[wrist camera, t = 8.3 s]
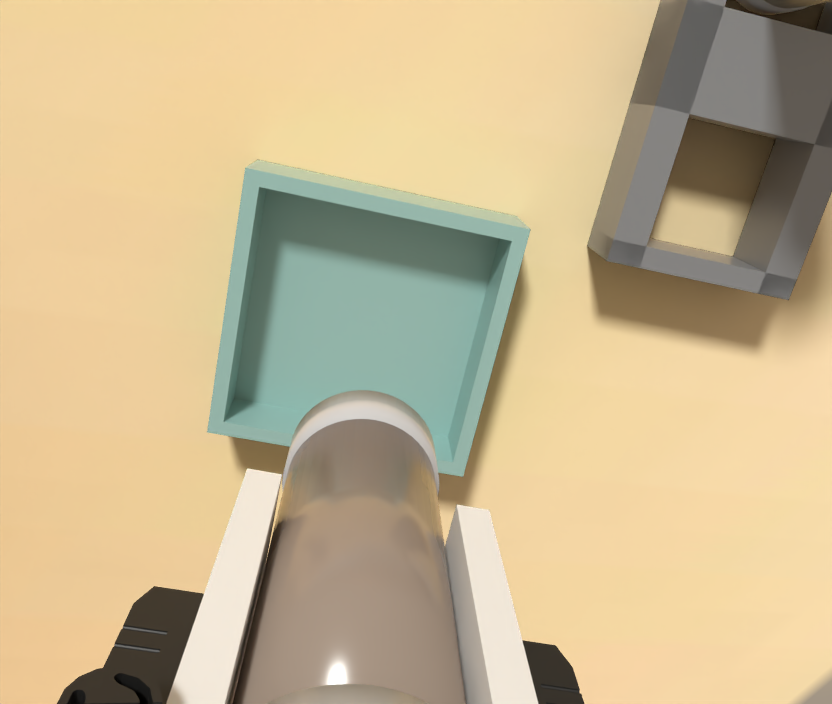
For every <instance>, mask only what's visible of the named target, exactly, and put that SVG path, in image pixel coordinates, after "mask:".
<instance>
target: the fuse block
mask: <svg viewBox="0 0 832 704" xmlns="http://www.w3.org/2000/svg"><path fill="white" fill-rule="evenodd" d="M726 1H727V0H661V1H660V4H659V8H658V11H657V14H656V18H655V21H654V24H653V28H652V31H651V34H650V38H649V41H648V44H647V48H646V51H645V54H644V58H643V61H642V65H641V68H640V71H639V75H638V78H637V81H636V85H635V88H634V91H633V95H632V98H631V101H630V105H629V108H628V111H627V115H626V118H625V121H624V125H623V128H622V131H621V135H620V138H619V141H618V145H617V148H616V151H615V155H614V158H613V161H612V165H611V168H610V171H609V175H608V178H607V181H606V185H605V188H604V191H603V195H602V198H601V201H600V205H599V208H598V211H597V215H596V218H595V221H594V225H593V228H592V231H591V235H590V238H589V241H588V245H587V246H588V247H589V248H591V249H592V250H593V251H594V252H596V253H597V254H598V255H600V256H601V257H602V258H604V259H605V260H606V261H609V262H614V263H618V264H623V265H628V266H632V267H637V268H641V269H646V270H651V271H655V272H660V273H665V274H669V275H674V276H679V277H683V278H688V279H693V280H697V281H702V282H707V283H711V284H716V285H721V286H725V287H730V288H735V289H739V290H744V291H749V292H753V293H758V294H763V295H767V296H772V297H777V298H781V299H786V300H789V298H790V296H791V293H792V290H793V288H794V285H795V283H796V280H797V278H798V275H799V273H800V270H801V268H802V265H803V263H804V260H805V258H806V255H807V253H808V250H809V248H810V245H811V243H812V240H813V238H814V235H815V233H816V230H817V228H818V225H819V223H820V220H821V218H822V215H823V213H824V210H825V207H826V205H827V202H828V200H829V197H830V195H831V192H832V2H827V3H825V6H824V9H823V12H822V14H821V17H820V20H819V22H818V25H817V28H816V31H815V30H811V29H807V28H804V27H800V26H796V25H792V24H788V23H785V22H781V21H777V20H773V19H769V18H765V17H762V16H758V15H754V14H750V13H746V12H743V11H739V10H735V9H731V8H727V7H725V4H726ZM688 118H692V119H696V120H700V121H705V122H709V123H713V124H717V125H721V126H725V127H729V128H733V129H738V130H742V131H746V132H750V133H754V134H758V135H762V136H767V137H771V138H775V139H776V140H775V143H774V146H773V148H772V151H771V154H770V157H769V159H768V162H767V165H766V168H765V170H764V173H763V176H762V178H761V181H760V184H759V187H758V189H757V192H756V195H755V198H754V200H753V203H752V206H751V209H750V211H749V214H748V217H747V220H746V222H745V225H744V228H743V230H742V233H741V236H740V239H739V241H738V244H737V247H736V250H735V252H734V255H733V257H732V256H728V255H723V254H719V253H714V252H710V251H705V250H701V249H696V248H691V247H687V246H682V245H678V244H673V243H669V242H664V241H660V240H655V239H650V238H649V237H650V234H651V231H652V228H653V225H654V222H655V219H656V216H657V213H658V210H659V207H660V203H661V200H662V197H663V194H664V191H665V188H666V185H667V182H668V179H669V176H670V173H671V170H672V167H673V164H674V161H675V157H676V154H677V151H678V148H679V145H680V142H681V139H682V136H683V133H684V130H685V127H686V124H687V121H688Z"/></svg>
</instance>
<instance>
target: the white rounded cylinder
mask: <svg viewBox="0 0 832 704" xmlns="http://www.w3.org/2000/svg"><path fill="white" fill-rule="evenodd" d="M736 1H737V2H738V3H739V4H740V5H741V6H743V7H744V8H745V9H747V10H749V11H751V12H754V13H757V14H762V15H773V14H780V13H786V12H792V11H797V10H801V9H804V8H807V7H809V6H811V5H815V4H821V3H827V2H832V0H736Z"/></svg>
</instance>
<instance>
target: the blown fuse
mask: <svg viewBox="0 0 832 704" xmlns="http://www.w3.org/2000/svg"><path fill="white" fill-rule="evenodd" d="M282 486H283V494H282V498H281V502H280V506H279V511H278V515H277V519H276V523H275V527H274V532H273V536H272V540H271V544H270V548H269V552H268V557H267V561H266V565H265V569H264V573H263V578H262V582H261V586H260V590H259V594H258V599H257V603H256V607H255V611H254V615H253V620H252V624H251V628H250V632H249V636H248V640H247V645H246V649H245V653H244V657H243V661H242V666H241V670H240V674H239V678H238V682H237V687H236V691H235V695H234V699H233V703H232V704H466V699H465V692H464V685H463V677H462V670H461V663H460V656H459V648H458V641H457V634H456V626H455V619H454V612H453V605H452V597H451V590H450V583H449V576H448V568H447V561H446V554H445V546H444V539H443V532H442V525H441V517H440V510H439V503H438V494H439V474H438V467H437V460H436V454H435V447H434V442H433V438H432V435H431V433H430V430H429V428H428V426H427V425H426V423H425V421H424V420H423V419H422V418H421V416H420V415H419V414H418V413H417V412H416V411H415V410H414V409H413V408H412V407H410V406H409V405H408V404H406V403H405V402H403V401H401V400H400V399H398V398H396V397H393V396H391V395H388V394H385V393H381V392H377V391H369V390H355V391H347V392H343V393H339V394H336V395H334V396H331V397H329V398H327V399H325V400H323V401H321V402H320V403H318V404H317V405H315V406H314V407H313V408H312V409H311V410H310V411H308V412H307V413H306V415H305V416H304V417H303V418H302V419H301V421H300V422H299V424H298V426H297V427H296V429H295V432H294V434H293V437H292V441H291V444H290V448H289V452H288V456H287V460H286V464H285V468H284V472H283V481H282Z"/></svg>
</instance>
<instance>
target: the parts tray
mask: <svg viewBox="0 0 832 704" xmlns="http://www.w3.org/2000/svg"><path fill="white" fill-rule="evenodd" d="M529 233H530V229H529V228H528V227H527V226H526V225H525V224H524V223H523V222H522V221H521V220H520V219H519V218H518V217H517V216H513V215H508V214H504V213H499V212H495V211H490V210H486V209H481V208H476V207H472V206H467V205H463V204H458V203H454V202H449V201H444V200H440V199H435V198H431V197H426V196H422V195H417V194H412V193H408V192H403V191H399V190H394V189H390V188H385V187H380V186H376V185H371V184H367V183H362V182H358V181H353V180H348V179H344V178H339V177H335V176H330V175H326V174H321V173H316V172H312V171H307V170H303V169H298V168H294V167H289V166H284V165H280V164H275V163H271V162H266V161H262V160H256V161H255V162H253V163H252V164H250V165H249V166H247V167H246V168H245V174H244V181H243V188H242V195H241V202H240V209H239V216H238V223H237V230H236V237H235V244H234V251H233V257H232V264H231V271H230V278H229V285H228V292H227V299H226V306H225V313H224V320H223V327H222V334H221V341H220V347H219V354H218V361H217V368H216V375H215V382H214V389H213V396H212V403H211V410H210V417H209V424H208V431H207V432H209V433H214V434H220V435H226V436H232V437H237V438H243V439H249V440H255V441H260V442H266V443H272V444H278V445H283V446H289V447H290V444H291V441H292V437H293V434H294V432H295V429H296V427H297V426H298V424H299V422H300V421H301V419H302V418H303V417H304V416H305V415H306V413H307V412H308V411H310V410H311V409H312V408H313V407H314V406H315V405H317V404H318V403H320V402H321V401H323V400H325V399H327V398H329V397H331V396H334V395H336V394H339V393H343V392H347V391H355V390H369V391H377V392H381V393H385V394H388V395H391V396H393V397H396V398H398V399H400V400H401V401H403V402H405V403H406V404H408V405H409V406H410V407H412V408H413V409H414V410H415V411H416V412H417V413H418V414H419V415H420V416H421V418H422V419H423V420H424V421H425V423H426V425H427V426H428V428H429V430H430V433H431V435H432V438H433V442H434V447H435V454H436V460H437V467H438V473H444V474H450V475H456V476H461V477H463V475H464V471H465V468H466V464H467V460H468V457H469V453H470V449H471V446H472V442H473V438H474V435H475V431H476V427H477V424H478V420H479V416H480V413H481V409H482V405H483V402H484V398H485V394H486V391H487V387H488V383H489V380H490V376H491V372H492V369H493V365H494V361H495V358H496V354H497V350H498V347H499V343H500V339H501V336H502V332H503V328H504V325H505V321H506V317H507V314H508V310H509V306H510V303H511V299H512V295H513V292H514V288H515V284H516V281H517V277H518V273H519V270H520V266H521V262H522V259H523V255H524V251H525V248H526V244H527V240H528V237H529Z"/></svg>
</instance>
